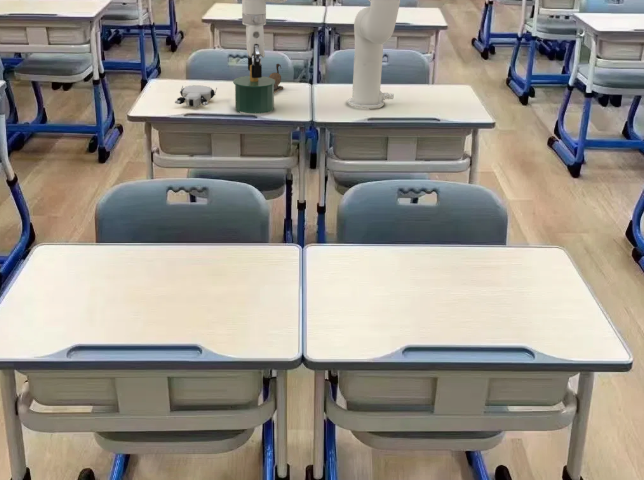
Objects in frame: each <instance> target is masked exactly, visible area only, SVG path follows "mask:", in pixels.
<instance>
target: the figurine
mask: <svg viewBox="0 0 644 480" xmlns="http://www.w3.org/2000/svg"><path fill="white" fill-rule="evenodd" d="M275 68H276V72H272V73H270V75H269V76H268V77H269V78H272V79H274V80H275V84H274V94H276V93H278V91H282V90H283V88H284V86H282V85H280V84H281V81H282V75H281V74H280V71H279V68H282V66H281V64H279V63H276V65H275Z"/></svg>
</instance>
